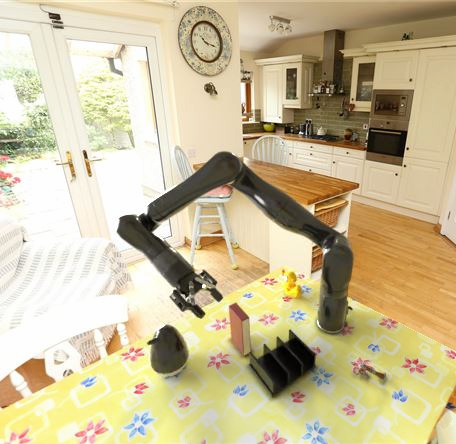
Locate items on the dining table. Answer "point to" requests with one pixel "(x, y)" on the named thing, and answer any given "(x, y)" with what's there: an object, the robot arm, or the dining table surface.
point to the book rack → (283, 363)
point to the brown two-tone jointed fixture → (372, 371)
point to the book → (240, 328)
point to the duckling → (291, 284)
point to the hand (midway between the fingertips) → (212, 307)
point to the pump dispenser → (168, 351)
